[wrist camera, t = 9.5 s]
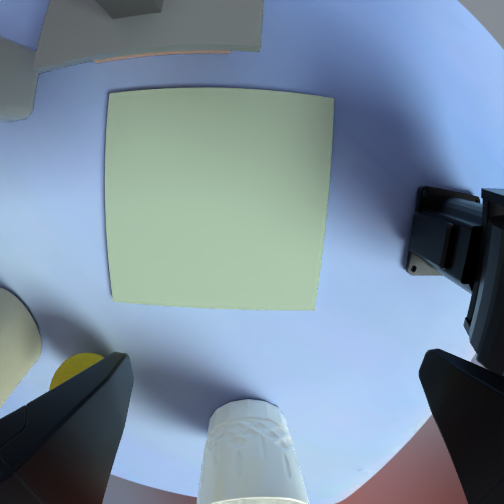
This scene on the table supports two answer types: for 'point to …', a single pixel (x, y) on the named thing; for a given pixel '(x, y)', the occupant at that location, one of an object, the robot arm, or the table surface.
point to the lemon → (73, 367)
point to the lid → (144, 29)
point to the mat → (217, 197)
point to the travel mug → (16, 343)
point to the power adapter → (16, 81)
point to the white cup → (250, 457)
